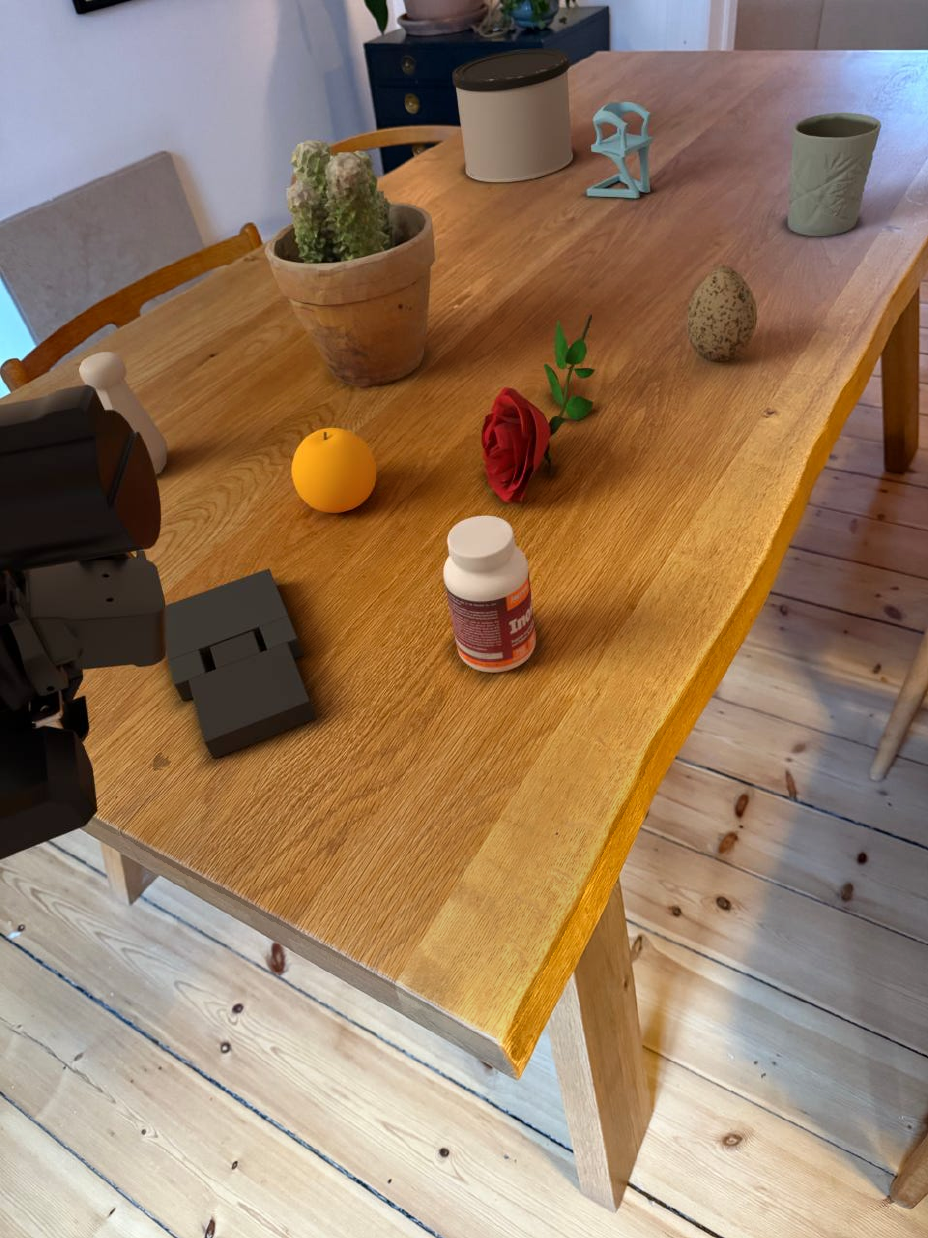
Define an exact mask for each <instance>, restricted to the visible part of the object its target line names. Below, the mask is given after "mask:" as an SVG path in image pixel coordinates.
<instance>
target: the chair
mask: <svg viewBox="0 0 928 1238" xmlns="http://www.w3.org/2000/svg"><path fill="white" fill-rule="evenodd" d="M630 112H635V113H636V114H638V115H639V116H640V117H641V118H643V123H642V125H641V128H640V134H641V135H637V134H631V133H628V132H627V127H628V122H625V121H624V120H623V116H624V115H625V114H627V113H630ZM651 114H652V113H651V112H650V111H647V110H646V109H645V108H644V107H643V106H641V104H639V103H636V102H631V101H623V102H622V101H621V102H617V101H612V102H609V103H606V104H605V105H603V106H602V107H601V108H599V110H598V111H597V112H596V113H595V114H594V116H593V117H592V122H593V126H594V129H595V132H596V141H595V143H593V144H590V148H591V152H593V153H600V154H602V155H603V156H606V157H608V158H609V159H611V160H612V161H613V162H614V164H615V165H616V167H617V168H618V170H619V172H620V173H617V174H614V175H613V176H611V177H608V178H607V179H604V180H602V181H600V182H599V183H596V184H594V185H592V186H590V187H588V188H586V196H588V197H605V198H607V197H608V198H626V199H639V198H640V192H642V193H646V194H648V193H651V184H650V169H649V168H650V167H649V149H650V146H651V145H653V144H654V137H653V136H649V133H648V125H649V121H650V118H651ZM603 124H611V125H613V126H615V127H616V129H617V130H616V133H615V134H612V135H611V136H609V137H607V138H605V139H604V137H603V132H602V129H601V127H600V126H601V125H603ZM636 151H637V155H638V160H639V167H640V168H639V171H640V181H639V180H637V179H636V178H633V177H632V175H631V172H630V170H629V168H628V166H627V164H626V157H627V156H630V155H632V154H633V153H635V152H636ZM617 182H621V183H623V184H626V185H627V187H628V188H607V187H609V186H611V185H613V184H616V183H617Z"/></svg>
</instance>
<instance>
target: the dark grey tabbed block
mask: <svg viewBox="0 0 928 1238" xmlns="http://www.w3.org/2000/svg"><path fill="white" fill-rule="evenodd" d="M210 649H211V653H212V656H213V660H214V663H213V664H214V666H215V669H214V670H210V671H209V672H208V673H205V674H202V675H200V676H197V677H195V678H192V679H189V683H190V687H191V691H192V695H193V698H192V699H193V702H194V707H195V711H196V715H197V720H198V723H199V727H200V731H201V735H202V738H203V739H202V740H203V744H204V745H205V747H206V749H207V750H208V752H209V754H210V756H211V757H212V759H213V760H215V759H218V758H220V757H222V756H225V755H228V754H230V753H232V752H235V751H237V750H240V749H243V748H245V747H248V746H250V745H253V744H255V743H258V742H260V741H263V740H265V739H267V738H270V737H272V736H275V735H277V734H280V733H283V732H285V731H288V730H290V729H292V728H295V727H298V726H300V725H302V724H305V723H308V722H310V721H314V720H315V719H317V715H316V712H315V709H314V707H313V704H312V702H311V700H310V699H311V698H310V697H309V694H308V692H307V688H306V686H305V684H304V681H303V678H302V676H301V674H300V671H299V669H298V666H297V663H296V661H295V659H294V658H293V655H292V653H291V650H290V648H289V645H288V643H284V644H282V645H279V646H276V647H274V648H271V649H269V650H267V649H266V650H263V651H262V649H261V646H259V644H258V641H257V639H256V637H255V634H254V632H253V631H251V632H249V633H246V634H243V635H241V636H238V637H235V638H233V639H230V640H227V641H225V642H222V643H219V644H216V645H214V646H211V647H210Z"/></svg>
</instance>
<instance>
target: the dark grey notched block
mask: <svg viewBox="0 0 928 1238" xmlns="http://www.w3.org/2000/svg"><path fill="white" fill-rule="evenodd" d="M165 610H166V656H167V660H168V664H169V669H170V674H171V677H172V682H173V686H174V687H175V690H176V691H177V693H178V695H179V697H180V699H181V701H182V702H186V701H188V700H191V699H193V695H192V691H191V687H190V683H189V679H192V678H195V677H197V676H200V675H202V674H205V673H208V672H210V671H209V668H208V666H210V665H213V664H215V663H214V660H213V656H212V653H211V649H210V647H211V646H214V645H216V644H219V643H222V642H225V641H227V640H230V639H233V638H235V637H238V636H241V635H243V634H246V633H249V632H251V631H253V632H254V634H255V637H256V639H257V641H258V644H259V646H260V647H261V646H264V645H265V647H266V650H269V649H271V648H274V647H276V646H279V645H282V644H284V643H288V645H289V648H290V650H291V653H292V655H293V658H294V660H296V659H298V658H301V657H303V656H304V655H305V654H304V651H303V648H302V647H301V643H300V641H299V638H298V636H297V634H296V631H295V628H294V625H293V623H292V621H291V618H290V616H289V614H288V611H287V608H286V606H285V603H284V601H283V599H282V596H281V594H280V591H279V589H278V586H277V584H276V581H275V578H274V577H273V574H272V571H271V569H270V568H266V569H263V570H260V571H257V572H255V573H252V574H249V575H246V576H244V577H240V578H238V579H235V580H232V581H229V582H226V583H223V584H222V585H218V586H215V587H213V588H210V589H208V590H205V591H202V592H198V593H196V594H194V595H190V596H188V597H185V598H183V599H179V600H176V601H174V602H171V603H168V604H165Z"/></svg>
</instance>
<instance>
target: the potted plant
mask: <svg viewBox="0 0 928 1238" xmlns="http://www.w3.org/2000/svg"><path fill="white" fill-rule="evenodd" d="M290 157H291V160H290V165H291V166H294V168H293V174H294V175H295V178H296V180H295V182H294V183H293V184H291V186H290V187H285V188H286V199H287V202H288V204H287V206H286V209H287V210H288V211H289V213H290V216H291V217H292V222H291V223H288V224H287V225H285V226H283V228H281V229H280V230H278V232H277V233H276V235H275V236H274V237H272V238H271V239H270V240H269V241H268V242H267V244H266V246H265V247H264V254H265V257H266V258H267V261H268V262H269V264H270V268H271V272H272V274H273V276H274V277H275V281H276V284H277V287H278V288H279V291H280V292H281V293H282V294H283V295H284V296H285V297H286V298H287V299H288V300H289V303H290V304H291V306H292V309H293V311H294V314H295V315H296V318H297V319H298V321H299V323H300V324H301V326H302V327H303V330H304V331H305V332H306V334H307V336H308V337H309V339H310V341H311V343H312V344H313V345H314V348H316V350H317V351H318V353H319V355H320V356H321V358H322V359H323V361H324V363H325V364H326V366H327V369H328V371H329V372H330V374H331V375H332V376H333V377H334V379H335V380H337V381H338V382H341V383H342V384H344V385H345V384H346V385H349V386H352V387H353V386H354V387H359V388H367V387H368V388H369V387H376V386H382V385H385V384H390V383H394V382H396V381H398V380H400V379H403V378H405V377H407V376H408V375H410V374H411V373H413V371H414V370H416V369H417V368H418V367H419V366H420V364H421V362H422V360H423V357H424V355H425V348H426V347H425V346H426V340H427V332H428V320H429V308H430V307H429V306H430V293H431V292H430V290H431V272H432V271H431V270H432V269H431V268H432V266H433V264H434V263H435V261H436V255H435V235H434V226H433V219H432V215H431V213H430V212H428V210H426V209H424V208H422V207H420V206H417V205H415V204H412V203H411V204H410V203H405V202H395V201H394V202H392V201H388V198H387V197H385V195H384V194H385V192H384V190H382V191H381V190H378V188H377V187H378V186H377V185H378V178H377V175H376V173H375V172H374V170H373V166H374V163H373V162H372V155H370V154H369V153H368V152H367V151H363V150H356V151H354V152H353V151H348V150H347V151H345V152H344V151H343V152H341V151H339V152H338V153H333V152H332V149H331V148H330V146H329V145H328V143H327V142H326V141H325V142H324V141H322V140H320V139H319V140H311V139H308V140H305V141H302V142H299V143H298V144H297V146H296V147H294V150H293V151H292V152H291V153H290Z"/></svg>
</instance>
